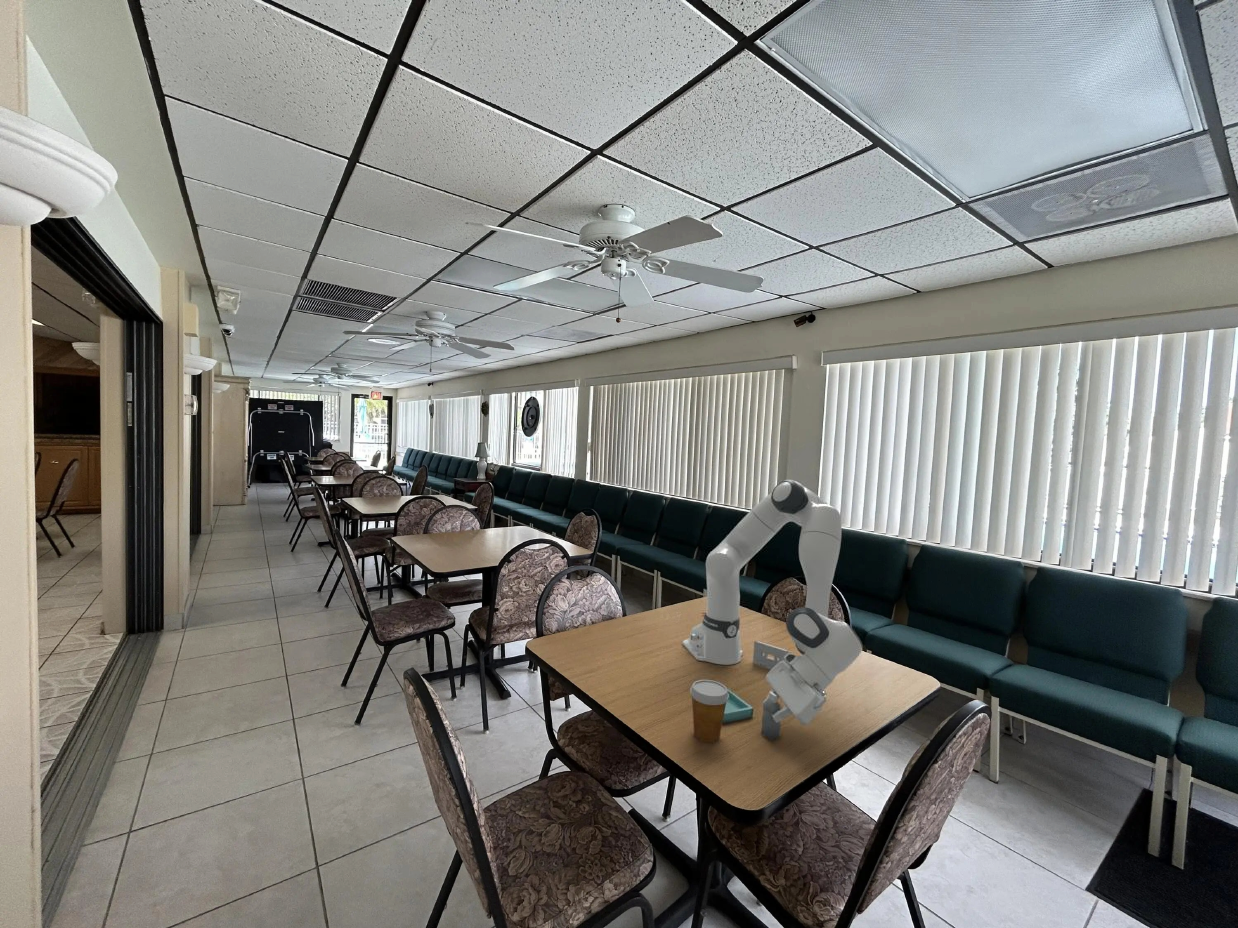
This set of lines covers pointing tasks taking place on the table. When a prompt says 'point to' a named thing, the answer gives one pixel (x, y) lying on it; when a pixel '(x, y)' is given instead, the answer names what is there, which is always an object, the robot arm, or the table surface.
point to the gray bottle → (770, 717)
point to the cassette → (763, 658)
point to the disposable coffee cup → (708, 709)
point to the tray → (736, 709)
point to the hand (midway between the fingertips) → (769, 712)
